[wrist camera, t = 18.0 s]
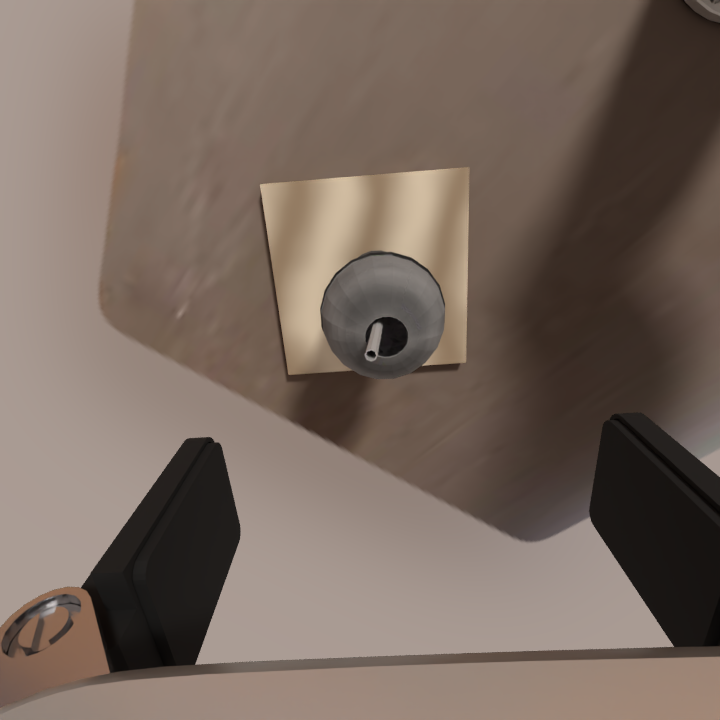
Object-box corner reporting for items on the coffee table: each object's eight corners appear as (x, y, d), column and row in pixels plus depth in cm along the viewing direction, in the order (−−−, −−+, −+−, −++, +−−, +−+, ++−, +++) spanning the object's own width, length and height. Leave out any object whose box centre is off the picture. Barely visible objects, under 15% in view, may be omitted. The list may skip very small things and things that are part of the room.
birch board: (465, 167, 33) (469, 167, 32) (462, 357, 39) (465, 362, 38) (263, 184, 34) (260, 184, 33) (290, 369, 40) (288, 374, 39)
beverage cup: (377, 337, 37) (394, 482, 19) (314, 280, 35) (262, 379, 17) (438, 275, 35) (524, 369, 17) (374, 212, 33) (391, 239, 15)
